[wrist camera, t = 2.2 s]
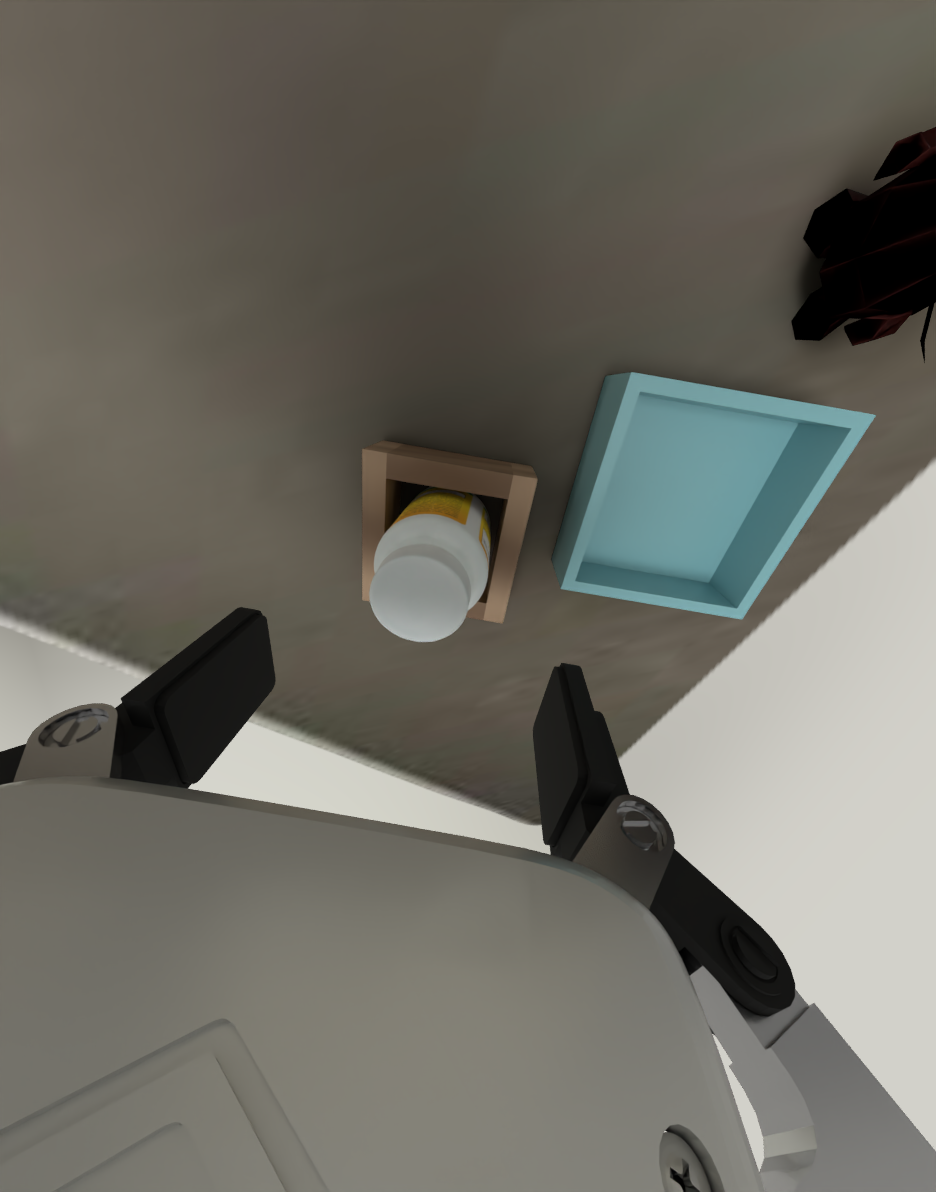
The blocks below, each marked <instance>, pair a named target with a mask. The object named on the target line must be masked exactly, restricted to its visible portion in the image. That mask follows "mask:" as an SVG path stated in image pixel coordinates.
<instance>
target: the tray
mask: <svg viewBox="0 0 936 1192" xmlns="http://www.w3.org/2000/svg"><path fill="white" fill-rule="evenodd" d="M875 416H876V415H873V414H867V413H861V412H856V411H850V410H844V409H839V408H833V407H827V406H822V405H816V404H810V403H805V402H799V401H793V400H788V399H782V398H776V397H770V396H765V395H759V394H753V393H748V392H742V391H736V390H731V389H725V388H719V387H714V386H708V385H702V384H697V383H691V382H685V381H680V380H674V379H668V378H663V377H657V376H651V375H646V374H640V373H634V372H628V373H622V374H615V375H609V376H605V379H604V383H603V386H602V389H601V393H600V396H599V400H598V403H597V406H596V410H595V413H594V416H593V420H592V423H591V427H590V430H589V433H588V437H587V440H586V444H585V447H584V450H583V454H582V457H581V460H580V464H579V467H578V471H577V474H576V477H575V481H574V484H573V488H572V491H571V494H570V498H569V501H568V504H567V508H566V511H565V515H564V518H563V521H562V525H561V528H560V532H559V535H558V538H557V542H556V545H555V549H554V552H553V555H552V559H551V560H552V563H553V566H554V569H555V572H556V575H557V578H558V582H559V585H560V588H561V589H564V590H570V591H576V592H582V593H588V594H594V595H600V596H606V597H612V598H618V599H624V600H630V601H636V602H642V603H648V604H654V605H660V606H666V607H671V608H677V609H683V610H689V611H695V612H701V613H707V614H713V615H719V616H725V617H731V618H737V619H743V617H744V615H745V614H746V612H747V611H748V609H749V608H750V606H751V605H752V603H753V602H754V600H755V599H756V597H757V596H758V594H759V593H760V591H761V590H762V588H763V587H764V585H765V583H766V582H767V580H768V579H769V577H770V576H771V574H772V573H773V571H774V570H775V568H776V567H777V565H778V564H779V562H780V561H781V559H782V558H783V556H784V555H785V553H786V551H787V550H788V548H789V547H790V545H791V544H792V542H793V541H794V539H795V538H796V536H797V535H798V533H799V532H800V530H801V529H802V527H803V526H804V524H805V523H806V521H807V519H808V518H809V516H810V515H811V513H812V512H813V510H814V509H815V507H816V506H817V504H818V503H819V501H820V500H821V498H822V497H823V495H824V494H825V492H826V491H827V489H828V487H829V486H830V484H831V483H832V481H833V480H834V478H835V477H836V475H837V474H838V472H839V471H840V469H841V468H842V466H843V465H844V463H845V462H846V460H847V459H848V457H849V455H850V454H851V452H852V451H853V449H854V448H855V446H856V445H857V443H858V442H859V440H860V439H861V437H862V436H863V434H864V433H865V431H866V430H867V428H868V427H869V425H870V423H871V422H872V420H873V419H874V417H875Z"/></svg>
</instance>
